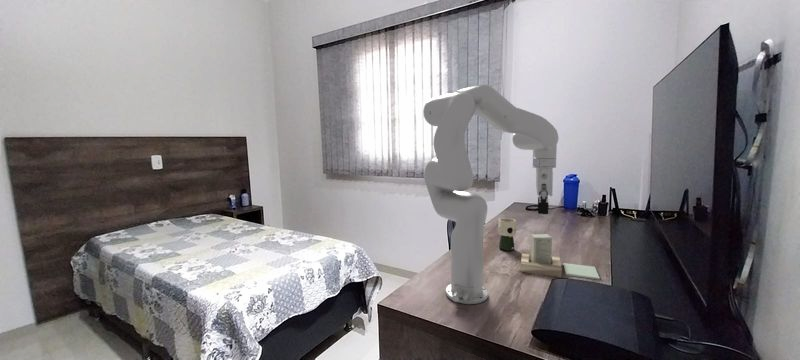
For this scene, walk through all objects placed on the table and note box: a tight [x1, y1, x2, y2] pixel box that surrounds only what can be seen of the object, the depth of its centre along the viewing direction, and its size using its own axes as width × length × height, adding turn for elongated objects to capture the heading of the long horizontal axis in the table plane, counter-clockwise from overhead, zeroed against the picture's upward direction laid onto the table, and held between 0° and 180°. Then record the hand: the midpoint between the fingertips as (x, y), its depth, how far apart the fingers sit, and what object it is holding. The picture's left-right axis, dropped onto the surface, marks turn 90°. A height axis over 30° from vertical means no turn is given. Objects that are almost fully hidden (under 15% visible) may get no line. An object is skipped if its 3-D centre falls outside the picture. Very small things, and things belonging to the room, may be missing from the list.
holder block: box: [520, 251, 563, 278], centre depth 114 cm, size 13×13×3 cm
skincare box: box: [530, 233, 553, 265], centre depth 113 cm, size 6×4×12 cm
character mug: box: [497, 217, 517, 251], centre depth 133 cm, size 11×7×13 cm, turn 122°
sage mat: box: [563, 262, 601, 281], centre depth 110 cm, size 10×10×1 cm
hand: (542, 210), depth 112 cm, fingers open, 9 cm apart
